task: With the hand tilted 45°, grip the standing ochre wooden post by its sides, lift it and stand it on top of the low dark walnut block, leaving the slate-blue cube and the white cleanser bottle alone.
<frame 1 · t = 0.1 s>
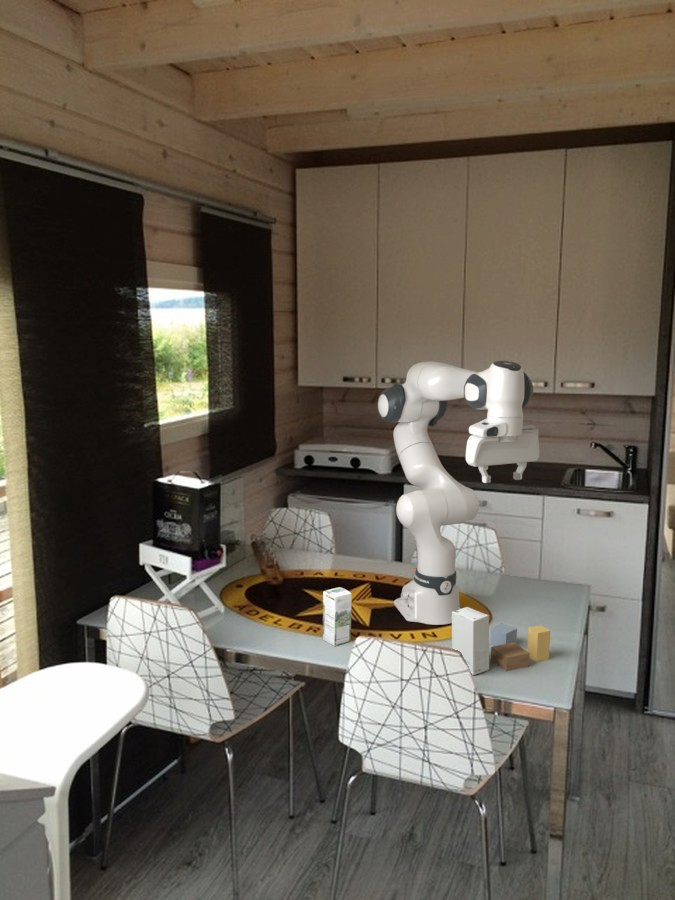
hand: (502, 480, 204), 48 cm above the table, tool pointing down, fingers open, 8 cm apart
walnut block: (509, 664, 209), on the table
syrup box: (336, 641, 222), on the table
skincare box: (469, 668, 207), on the table
ochre post: (537, 657, 213), on the table
slate cube: (503, 645, 220), on the table
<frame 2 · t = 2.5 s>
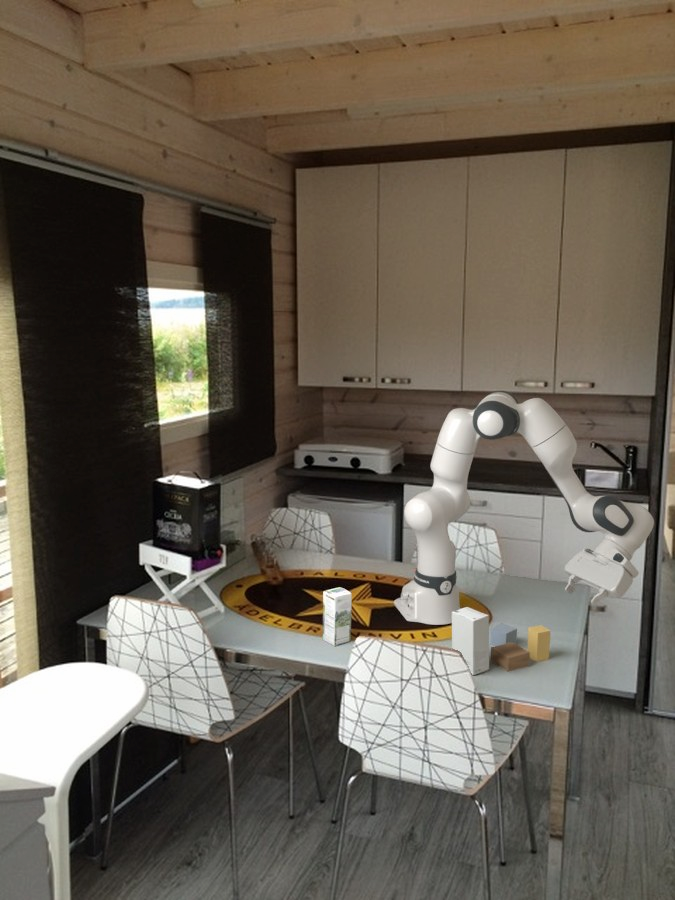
hand: (579, 597, 215), 15 cm above the table, tool tilted 45°, fingers open, 8 cm apart
nothing on the table moved.
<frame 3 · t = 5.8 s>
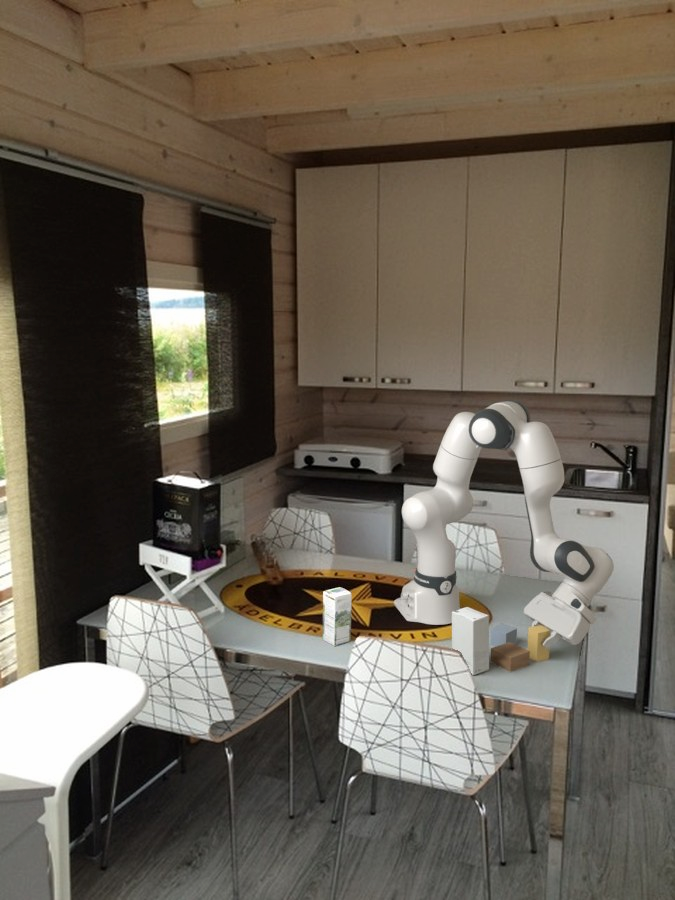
hand: (536, 642, 212), 4 cm above the table, tool tilted 45°, fingers closed on ochre post, 4 cm apart
ochre post: (537, 657, 213), on the table, touching gripper
everything else where it was.
when the fingers open (9 cm above the table, at t = 10.7 s): ochre post drops 1 cm, resting on walnut block.
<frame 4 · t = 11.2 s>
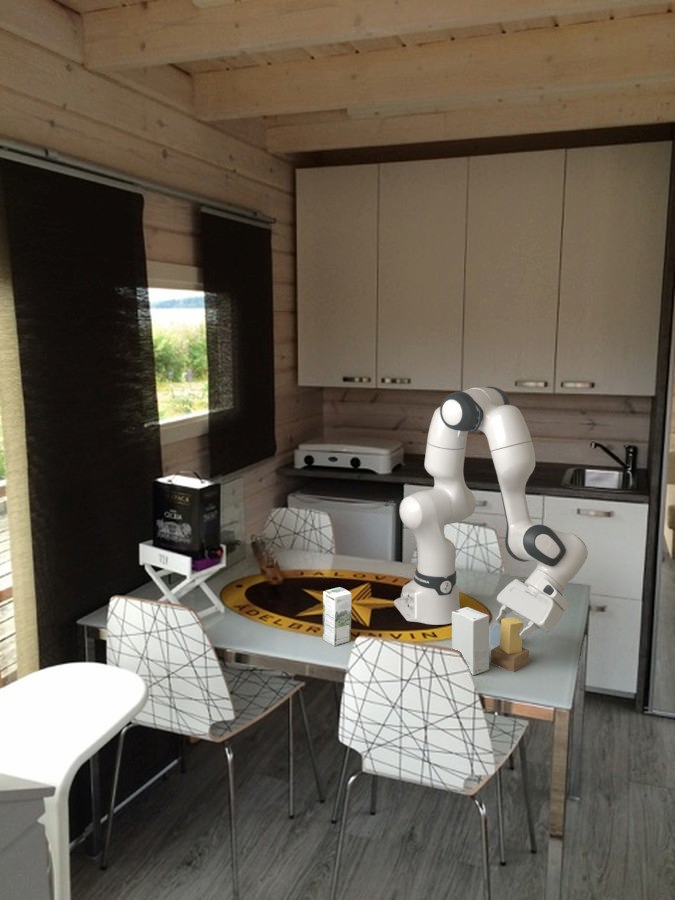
hand: (509, 629, 207), 9 cm above the table, tool tilted 45°, fingers open, 8 cm apart
walnut block: (509, 664, 210), on the table, touching ochre post
ochre post: (510, 649, 209), point 4 cm above the table, touching walnut block
everything else where it was.
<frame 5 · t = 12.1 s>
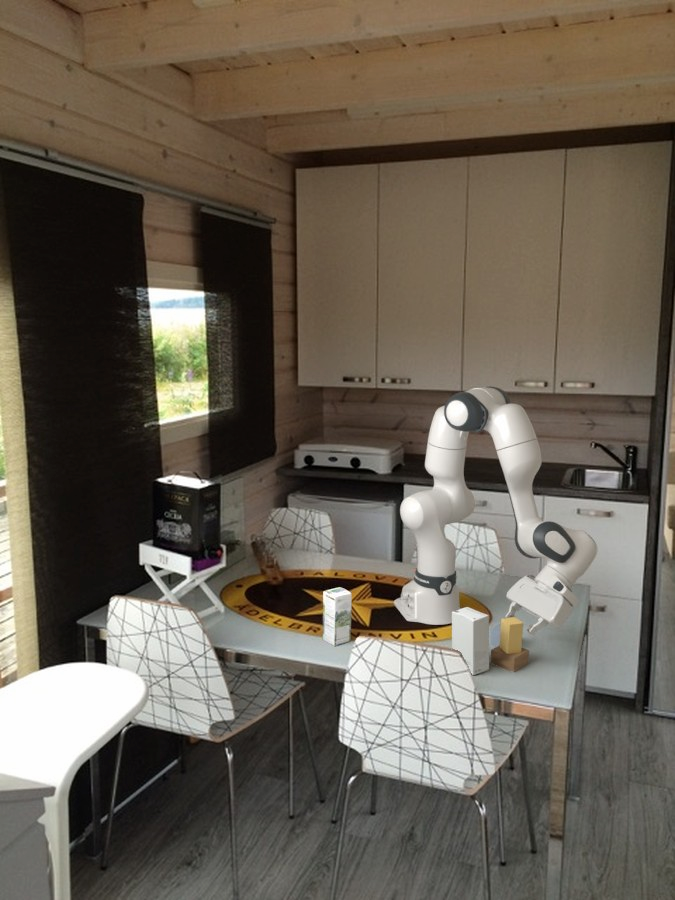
hand: (518, 626, 208), 10 cm above the table, tool tilted 45°, fingers open, 8 cm apart
nothing on the table moved.
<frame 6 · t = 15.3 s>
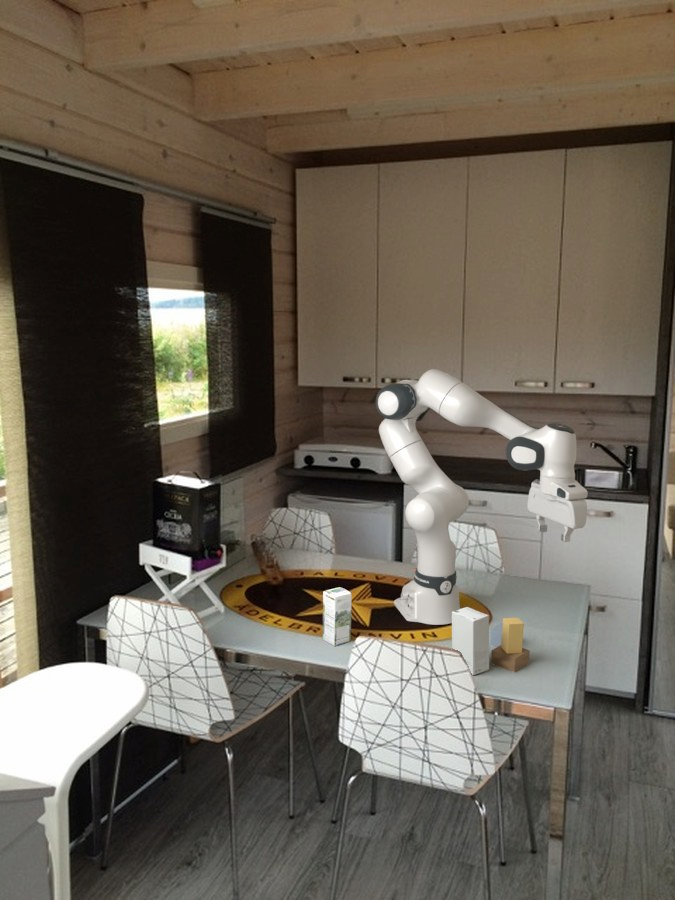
hand: (553, 536, 214), 31 cm above the table, tool pointing down, fingers open, 8 cm apart
nothing on the table moved.
at the end: ochre post inside the target area on the walnut block (0.1 cm from its centre), point 4.0 cm above the walnut block's base; ochre post tilted 1°; the gripper is holding nothing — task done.
